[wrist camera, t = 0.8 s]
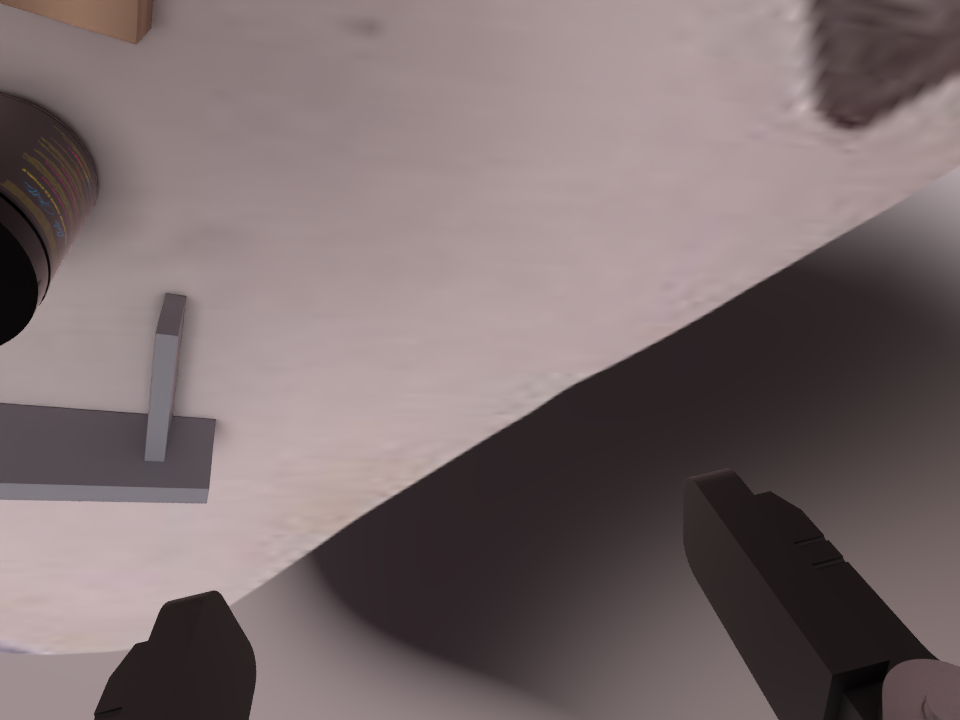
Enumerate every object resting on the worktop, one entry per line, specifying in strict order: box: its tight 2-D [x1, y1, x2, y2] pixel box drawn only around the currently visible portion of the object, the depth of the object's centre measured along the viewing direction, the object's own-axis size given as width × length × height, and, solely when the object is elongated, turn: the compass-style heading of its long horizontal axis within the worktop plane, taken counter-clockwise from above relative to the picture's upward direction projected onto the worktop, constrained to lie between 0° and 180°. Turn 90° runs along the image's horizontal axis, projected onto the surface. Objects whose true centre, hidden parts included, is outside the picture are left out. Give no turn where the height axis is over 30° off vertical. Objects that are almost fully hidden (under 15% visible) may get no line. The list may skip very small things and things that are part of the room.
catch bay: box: [0, 294, 216, 503], centre depth 30 cm, size 20×10×6 cm, turn 69°
